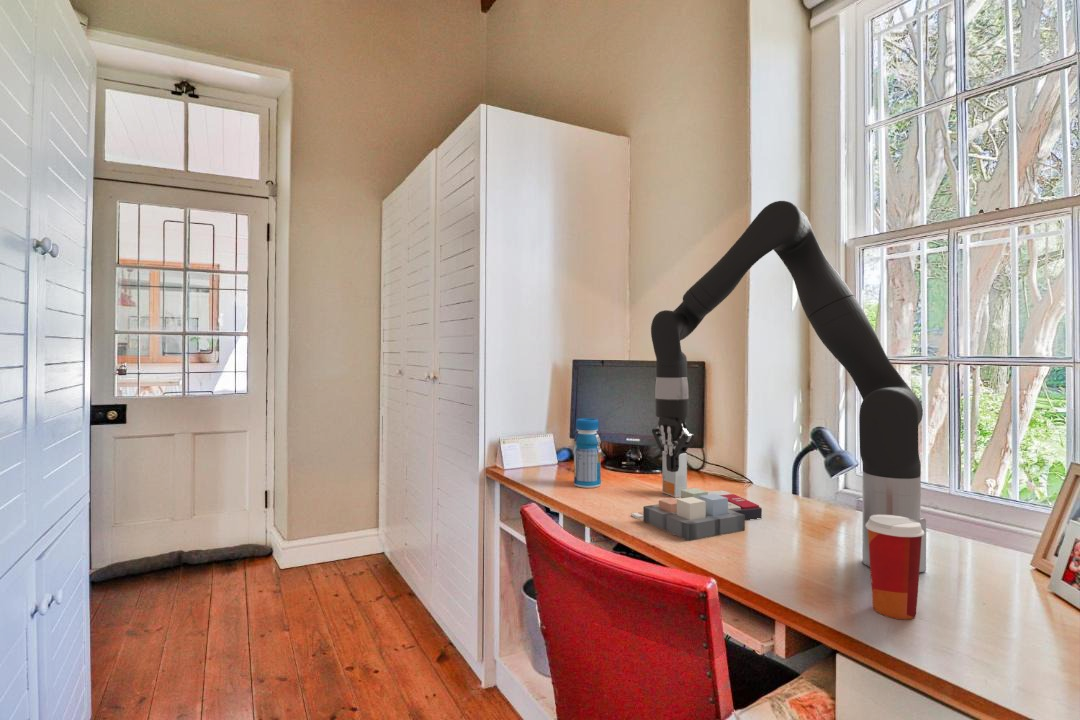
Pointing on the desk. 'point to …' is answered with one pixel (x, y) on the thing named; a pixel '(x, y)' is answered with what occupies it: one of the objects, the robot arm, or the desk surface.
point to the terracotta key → (668, 505)
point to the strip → (637, 515)
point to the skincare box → (674, 477)
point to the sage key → (692, 493)
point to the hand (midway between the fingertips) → (672, 471)
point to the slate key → (715, 504)
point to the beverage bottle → (587, 454)
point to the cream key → (691, 508)
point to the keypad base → (694, 523)
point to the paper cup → (894, 564)
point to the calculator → (740, 505)
